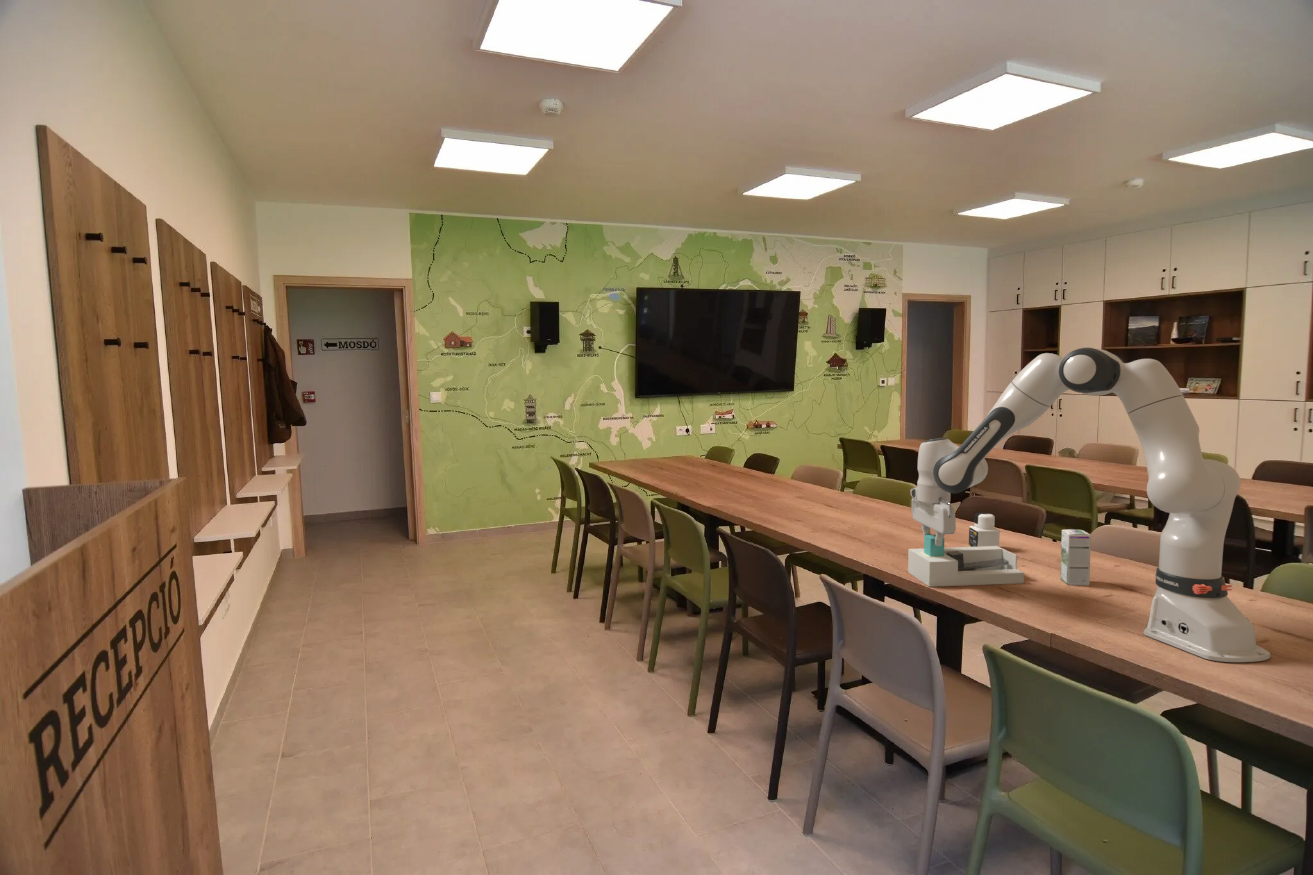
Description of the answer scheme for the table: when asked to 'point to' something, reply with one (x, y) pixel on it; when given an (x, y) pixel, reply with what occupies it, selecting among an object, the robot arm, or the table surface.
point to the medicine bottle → (983, 531)
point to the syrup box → (1075, 557)
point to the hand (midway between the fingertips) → (932, 542)
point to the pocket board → (947, 573)
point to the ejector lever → (975, 565)
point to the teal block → (932, 546)
